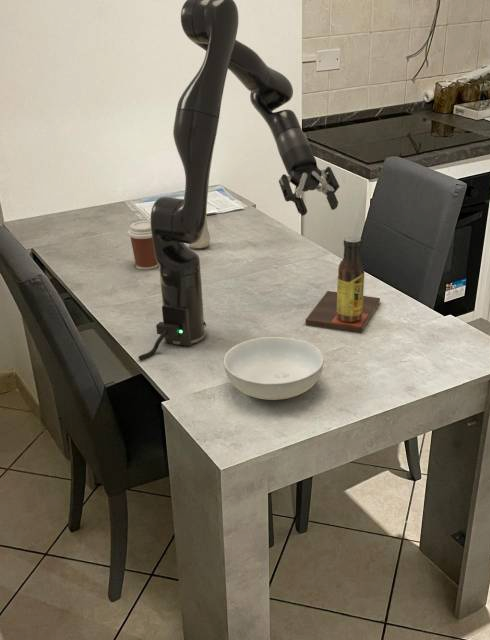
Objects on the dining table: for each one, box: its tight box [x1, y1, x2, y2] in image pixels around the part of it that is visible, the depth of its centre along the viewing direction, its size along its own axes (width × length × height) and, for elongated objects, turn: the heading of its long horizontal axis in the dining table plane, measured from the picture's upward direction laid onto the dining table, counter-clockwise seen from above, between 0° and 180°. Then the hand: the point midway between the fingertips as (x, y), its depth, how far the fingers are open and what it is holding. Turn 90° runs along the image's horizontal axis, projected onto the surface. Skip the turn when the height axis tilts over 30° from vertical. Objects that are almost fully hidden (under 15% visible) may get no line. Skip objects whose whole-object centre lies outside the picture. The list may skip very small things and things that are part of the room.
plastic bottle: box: [188, 210, 211, 249], centre depth 236 cm, size 6×7×20 cm
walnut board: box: [305, 290, 381, 334], centre depth 200 cm, size 18×14×2 cm
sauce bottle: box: [336, 236, 365, 322], centre depth 189 cm, size 7×6×20 cm
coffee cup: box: [126, 220, 159, 271], centre depth 226 cm, size 9×9×12 cm
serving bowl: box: [223, 336, 325, 401], centre depth 168 cm, size 21×21×7 cm
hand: (320, 211), depth 192 cm, fingers open, 8 cm apart
